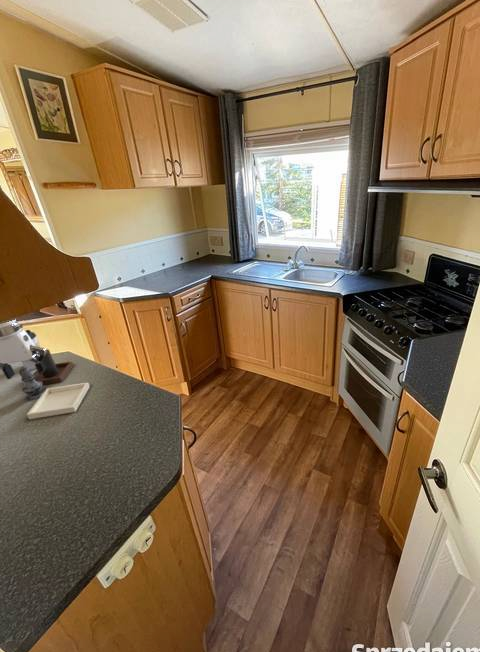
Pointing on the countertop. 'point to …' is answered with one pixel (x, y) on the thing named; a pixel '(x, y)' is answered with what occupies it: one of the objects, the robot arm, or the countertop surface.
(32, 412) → the light tray
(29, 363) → the coffee cup
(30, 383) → the marbled chess pawn
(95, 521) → the countertop surface
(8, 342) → the robot arm
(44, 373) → the dark gray cylinder
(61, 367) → the dark tray
